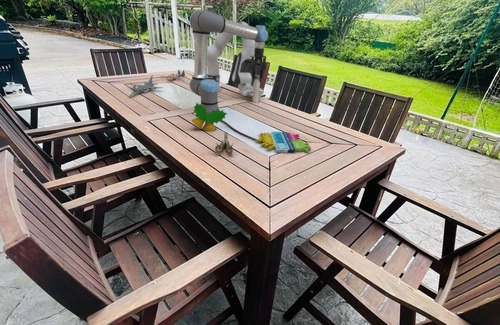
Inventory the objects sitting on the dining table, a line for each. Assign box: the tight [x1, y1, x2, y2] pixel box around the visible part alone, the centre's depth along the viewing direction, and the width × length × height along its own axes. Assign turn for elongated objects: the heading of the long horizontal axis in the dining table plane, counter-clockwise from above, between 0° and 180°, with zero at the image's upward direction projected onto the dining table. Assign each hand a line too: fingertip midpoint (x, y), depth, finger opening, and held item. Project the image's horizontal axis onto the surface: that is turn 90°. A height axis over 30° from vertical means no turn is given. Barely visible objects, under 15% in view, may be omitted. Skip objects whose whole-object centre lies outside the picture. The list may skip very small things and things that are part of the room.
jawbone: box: [214, 131, 234, 156], centre depth 136 cm, size 9×15×10 cm
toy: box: [160, 69, 186, 82], centre depth 279 cm, size 28×7×30 cm
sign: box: [255, 131, 312, 154], centre depth 152 cm, size 26×2×30 cm
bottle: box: [251, 79, 261, 103], centre depth 219 cm, size 6×6×21 cm
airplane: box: [127, 74, 164, 98], centre depth 226 cm, size 38×31×10 cm
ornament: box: [191, 102, 228, 132], centre depth 162 cm, size 21×8×15 cm, turn 105°
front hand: (257, 78), depth 214 cm, fingers open, 7 cm apart
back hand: (256, 94), depth 220 cm, fingers closed on bottle, 5 cm apart
